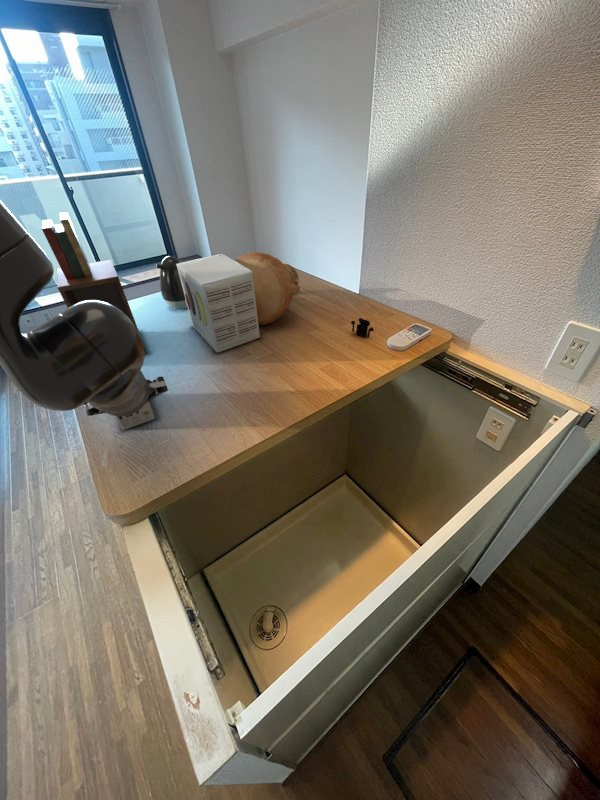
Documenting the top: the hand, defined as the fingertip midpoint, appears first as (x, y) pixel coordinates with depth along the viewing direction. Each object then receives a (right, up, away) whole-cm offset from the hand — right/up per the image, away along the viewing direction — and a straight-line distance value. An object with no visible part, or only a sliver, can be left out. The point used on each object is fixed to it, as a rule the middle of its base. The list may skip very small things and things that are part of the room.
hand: (134, 402), depth 61 cm
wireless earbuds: (+48, +18, +29) cm, 59 cm away
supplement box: (+10, +19, +31) cm, 38 cm away
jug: (+22, +28, +41) cm, 55 cm away
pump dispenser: (-7, +31, +45) cm, 55 cm away
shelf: (-17, +14, +25) cm, 33 cm away
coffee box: (-3, -2, +7) cm, 8 cm away
